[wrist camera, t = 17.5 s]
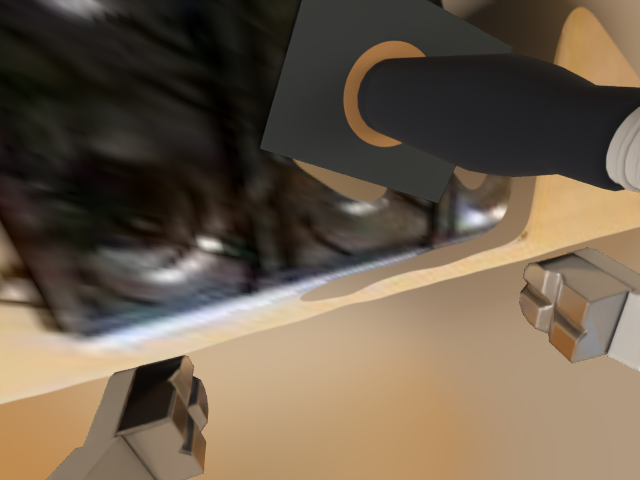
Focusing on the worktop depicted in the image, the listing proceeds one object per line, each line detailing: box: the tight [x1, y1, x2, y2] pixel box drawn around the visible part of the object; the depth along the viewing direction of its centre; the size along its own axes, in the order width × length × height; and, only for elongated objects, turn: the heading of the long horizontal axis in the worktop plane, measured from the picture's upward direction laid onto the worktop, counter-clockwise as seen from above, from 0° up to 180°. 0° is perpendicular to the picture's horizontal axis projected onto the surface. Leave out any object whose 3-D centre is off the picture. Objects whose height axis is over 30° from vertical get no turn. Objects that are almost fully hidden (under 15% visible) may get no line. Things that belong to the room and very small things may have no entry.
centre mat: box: [260, 0, 513, 203], centre depth 33 cm, size 16×20×1 cm
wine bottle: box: [357, 53, 640, 192], centre depth 20 cm, size 6×6×30 cm
